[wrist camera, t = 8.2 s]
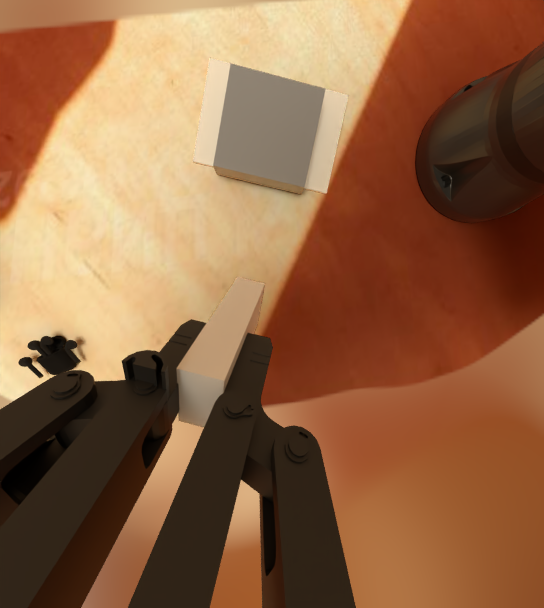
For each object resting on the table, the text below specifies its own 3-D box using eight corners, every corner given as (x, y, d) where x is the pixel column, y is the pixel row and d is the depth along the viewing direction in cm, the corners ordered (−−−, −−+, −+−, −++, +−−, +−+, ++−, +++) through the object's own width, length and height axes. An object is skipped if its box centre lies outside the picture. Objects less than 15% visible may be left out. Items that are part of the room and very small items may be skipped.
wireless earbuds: (36, 385, 31) (3, 354, 28) (49, 371, 33) (19, 342, 31) (89, 364, 31) (60, 332, 28) (99, 352, 33) (73, 321, 31)
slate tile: (300, 194, 30) (319, 105, 29) (304, 187, 27) (325, 88, 26) (217, 175, 29) (233, 82, 28) (213, 165, 27) (230, 63, 25)
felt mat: (347, 96, 29) (348, 94, 29) (325, 194, 30) (326, 193, 30) (210, 59, 28) (209, 57, 28) (193, 162, 29) (192, 161, 29)
